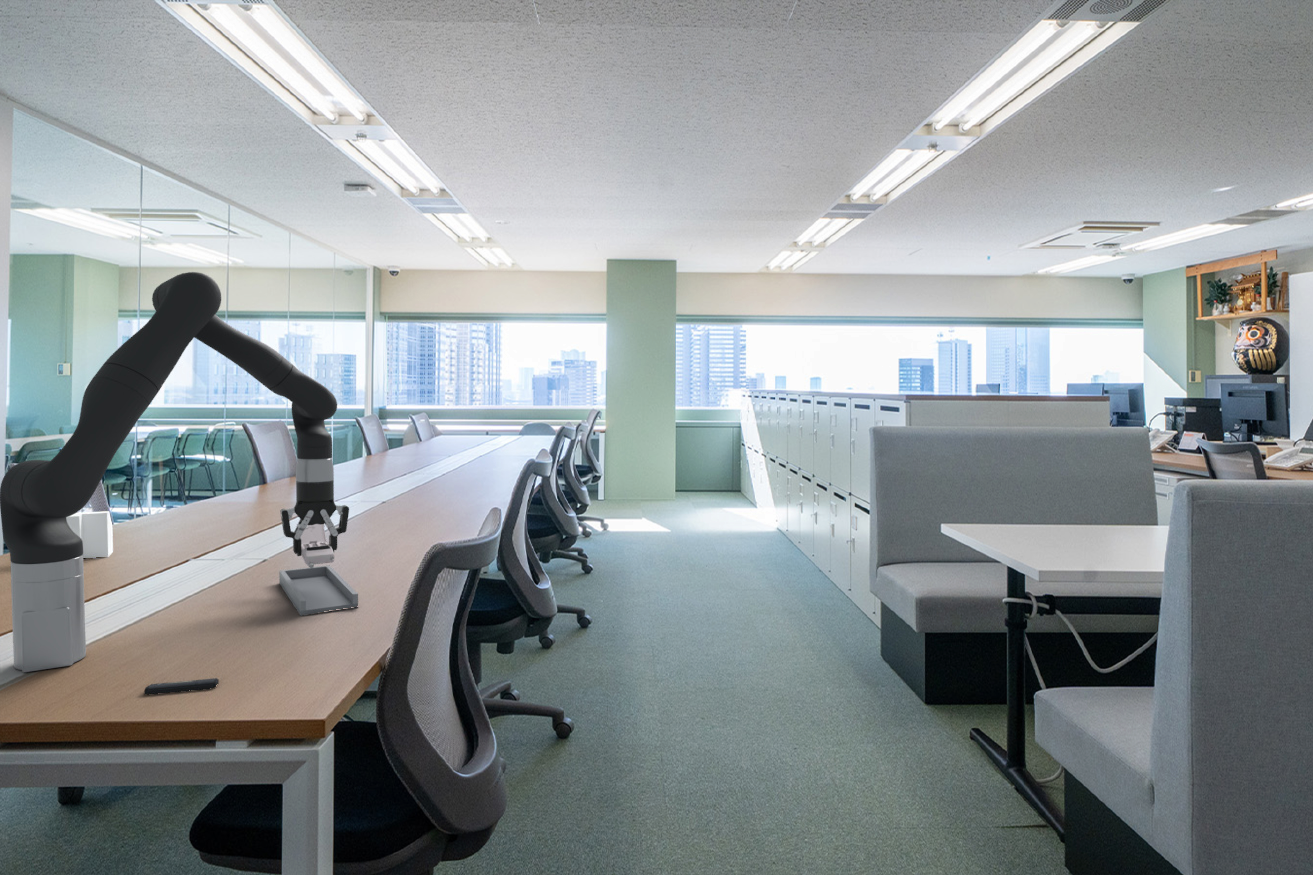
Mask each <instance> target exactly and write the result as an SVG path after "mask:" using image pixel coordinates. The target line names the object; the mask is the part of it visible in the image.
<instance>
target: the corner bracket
mask: <svg viewBox="0 0 1313 875" xmlns="http://www.w3.org/2000/svg"><path fill="white" fill-rule="evenodd" d="M66 519H67V523H68V525H69V527H70V529H71V530H72V531H73V532H74V533H75V534H76V535H78V536H79V537H80V538H81V539H82V542H83V558H93V559H97V558H96V557H107V558H109V557H110V556H111V555H112V554H113V552H114V538H113V537H114V536H113V534H114V533H113V532H114V531H113V530H114V529H113V522H112V518H111V513H110V510H107V511H106V510H104V511H87V512H82V511H80V512H77V513H75V514H73V515H71V516H68V517H66Z"/></svg>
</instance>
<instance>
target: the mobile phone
mask: <svg viewBox="0 0 1313 875" xmlns="http://www.w3.org/2000/svg"><path fill="white" fill-rule="evenodd" d="M296 527H297V525H296ZM296 527H295V528H296ZM325 527H326V525H325V523H324V524H321V525H320V524H314V525H307V527H306V529H305V530H304V531H303V533H302V535H301V537H300V539H301V554H302V555H301V557H302V559H303V561H304V563H305V565H307V566H308V568H309V567H310V568H313V567H315V565H322V564H331V563H334V561H335V551H334V552H333V549H332V547H331V546H330V545H329V542H327V539H326V532H325Z"/></svg>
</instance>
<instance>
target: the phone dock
mask: <svg viewBox="0 0 1313 875" xmlns="http://www.w3.org/2000/svg"><path fill="white" fill-rule="evenodd" d="M278 573H279V576H278V577H279V581H278V582H279V585H280V587H282V588H281V589H282V590H283V591H284V593H285V594H286V596H287V597H288V598H289V601H290V602H291V603H292V605H293V606H294V608H295V610H296V609H297V610H296V611H297V613H298V612H299V613H298V614H299V616H300V617H302V615H304V616H309V615H308V614H311V615H314V614H313V613H318V612H324V611H329V610H336V609H343V608H351V607H357V606H358V607H359V593H358V592H357V591H356V590H355V589H354V588H353V587H352V586H351V585H350V584H349V583H348V582H347V581H346V580H345V579H344V578H343V577H342V576H341V574H339V573H338V572H337V571H336V570H335V569H334V568H333V567H332V566H331V564H329V565H320V566H319V565H318V566H314V567H313V568H310V567H309V566H308V567H303V568H301V567H300V568H292V569H282V570H279V571H278ZM318 614H319V613H318Z"/></svg>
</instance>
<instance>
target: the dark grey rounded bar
mask: <svg viewBox="0 0 1313 875" xmlns="http://www.w3.org/2000/svg"><path fill="white" fill-rule="evenodd" d="M219 680H220V679H219V678H217V677H215V678H204V679H194V680H193V679H191V680H183V681H171V682H170V681H169V682H159V683H151V684H149V685H147V686H145V688H144V691H143V692H144V693H143V694H144V695H145V694H148V695H147V696H150V695H149V694H154V695H159V694H158V693H165V694H171V693H170V692H175V693H182V692H181V691H186V692H192V691H191V690H197V691H204V690H203V689H207V690H211V689H210V688H214V687H216V685H217V684H218V685H219V683H220V682H219ZM218 685H217V686H218ZM216 688H217V687H216ZM214 689H215V688H214ZM189 690H190V691H189Z"/></svg>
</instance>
